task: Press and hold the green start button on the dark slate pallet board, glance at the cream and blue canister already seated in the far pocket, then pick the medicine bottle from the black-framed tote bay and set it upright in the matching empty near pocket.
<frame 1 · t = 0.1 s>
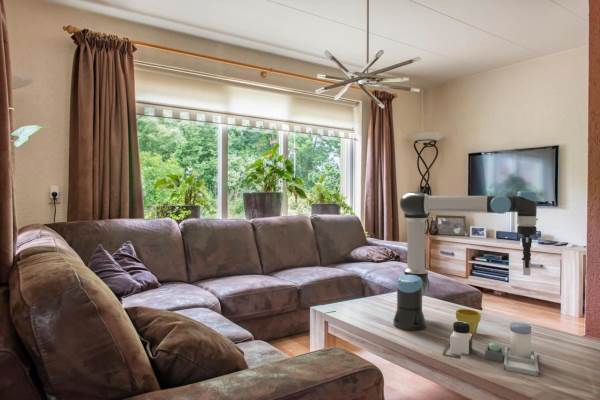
hand: (526, 272, 177), 28 cm above the table, fingers open, 13 cm apart
medicine bottle: (461, 353, 157), on the table
cream and blue canister: (520, 356, 149), point 1 cm above the table, touching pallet
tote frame: (461, 352, 157), on the table
button: (494, 348, 149), point 5 cm above the table, slide at 0.0 cm
plant pot: (468, 333, 179), on the table
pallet: (512, 363, 146), on the table
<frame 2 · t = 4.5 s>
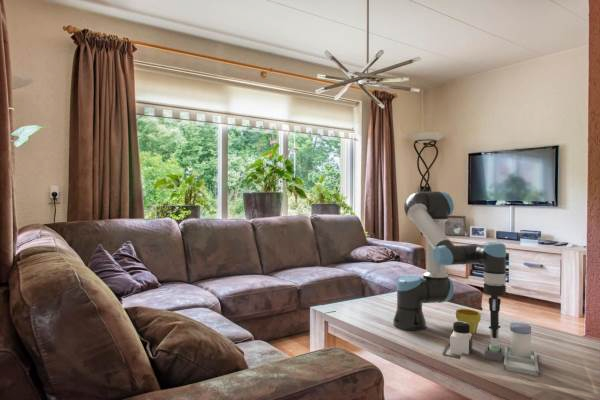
hand: (494, 345, 149), 6 cm above the table, fingers closed
button: (494, 349, 149), point 4 cm above the table, slide at 0.7 cm, touching gripper
everything else where it was.
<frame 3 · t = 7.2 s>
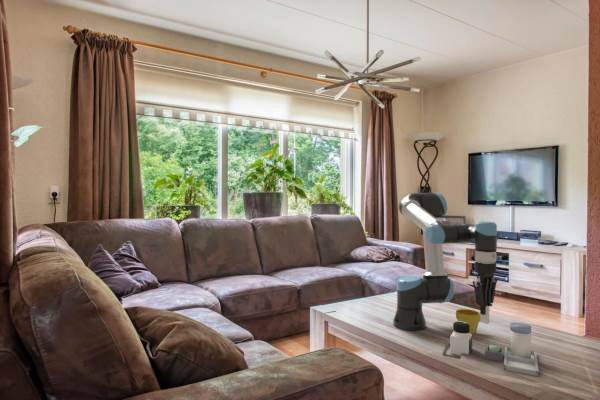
hand: (484, 322, 152), 14 cm above the table, fingers closed
button: (494, 350, 149), point 4 cm above the table, slide at 0.8 cm
everything else where it was.
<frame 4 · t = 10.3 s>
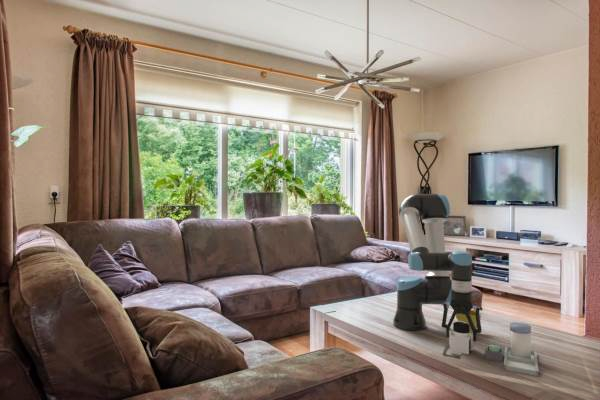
hand: (461, 347, 157), 2 cm above the table, fingers closed on medicine bottle, 7 cm apart
medicine bottle: (461, 353, 157), on the table, touching gripper
everything else where it was.
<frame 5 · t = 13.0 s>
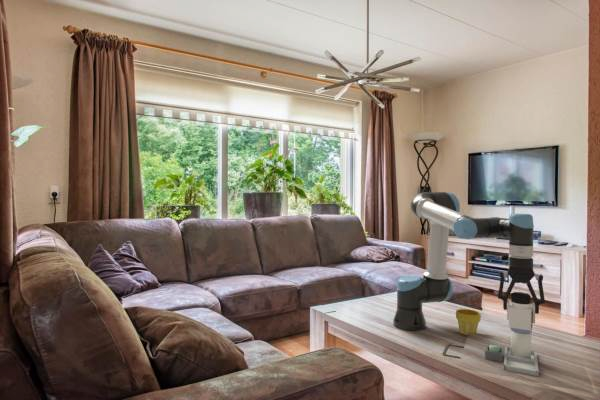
hand: (520, 320, 141), 18 cm above the table, fingers closed on medicine bottle, 7 cm apart
medicine bottle: (520, 326, 141), point 16 cm above the table, touching gripper
everything else where it was.
when the fingers open (5 cm above the table, at t = 15.7 s): medicine bottle drops 2 cm, resting on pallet.
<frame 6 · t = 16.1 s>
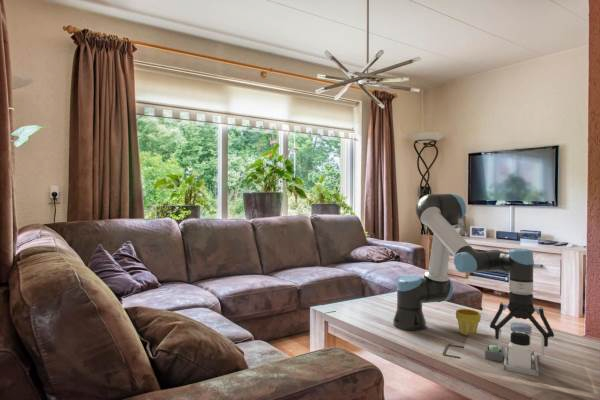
hand: (520, 351, 141), 7 cm above the table, fingers open, 13 cm apart
medicine bottle: (519, 367, 141), point 1 cm above the table, touching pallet
everything else where it was.
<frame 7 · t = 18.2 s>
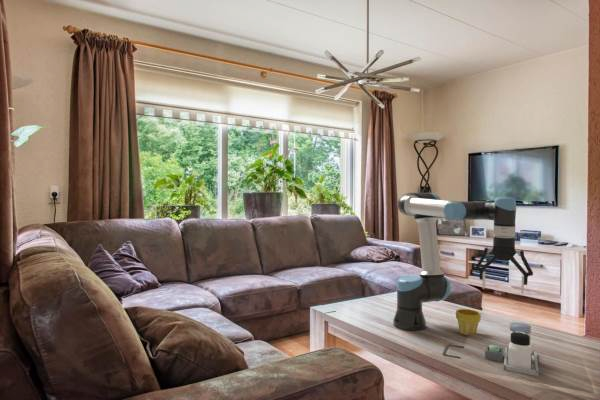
hand: (502, 290, 155), 25 cm above the table, fingers open, 13 cm apart
nothing on the table moved.
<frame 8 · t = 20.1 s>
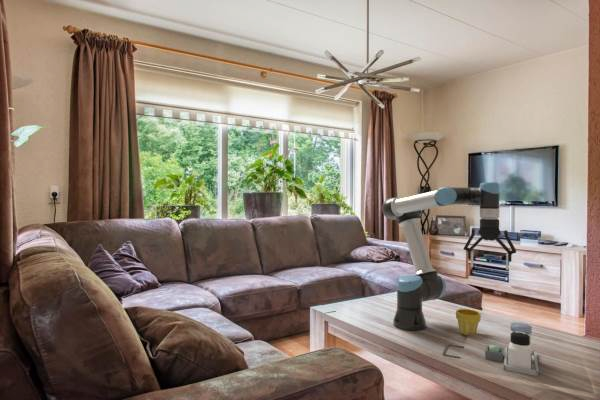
hand: (489, 268, 168), 32 cm above the table, fingers open, 13 cm apart
nothing on the table moved.
at the end: medicine bottle 0.2 cm from the target spot on the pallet, point 1.1 cm above the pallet's base; medicine bottle tilted 0°; the gripper is holding nothing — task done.
